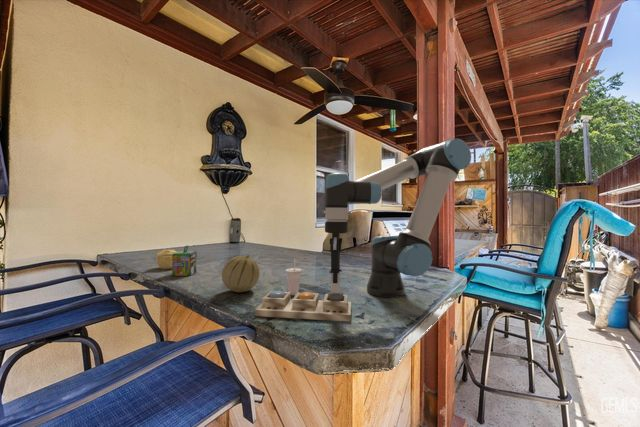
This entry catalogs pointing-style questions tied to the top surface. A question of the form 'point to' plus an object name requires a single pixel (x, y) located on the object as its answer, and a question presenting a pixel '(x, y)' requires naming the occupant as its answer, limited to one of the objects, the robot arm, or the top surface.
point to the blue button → (277, 294)
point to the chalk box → (184, 263)
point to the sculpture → (165, 259)
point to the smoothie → (293, 279)
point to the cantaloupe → (240, 274)
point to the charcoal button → (335, 296)
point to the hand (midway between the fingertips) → (335, 291)
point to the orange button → (306, 295)
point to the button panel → (304, 308)
